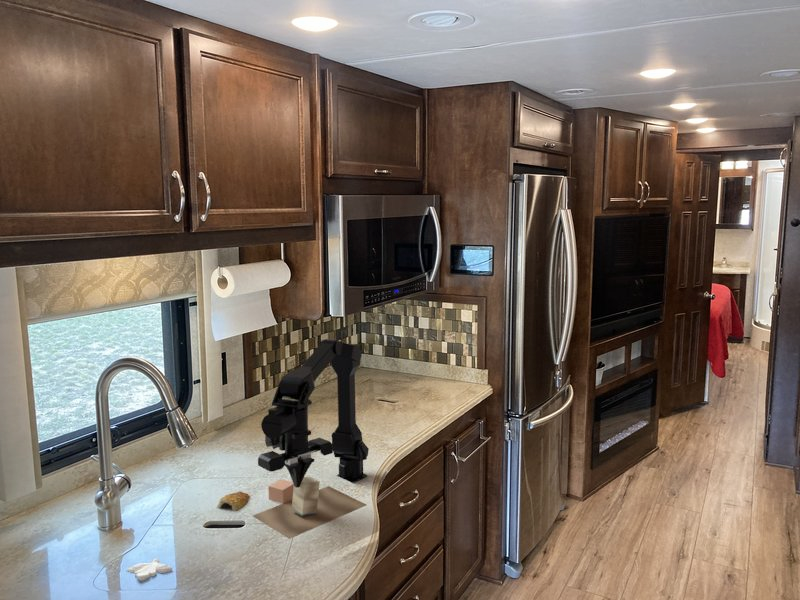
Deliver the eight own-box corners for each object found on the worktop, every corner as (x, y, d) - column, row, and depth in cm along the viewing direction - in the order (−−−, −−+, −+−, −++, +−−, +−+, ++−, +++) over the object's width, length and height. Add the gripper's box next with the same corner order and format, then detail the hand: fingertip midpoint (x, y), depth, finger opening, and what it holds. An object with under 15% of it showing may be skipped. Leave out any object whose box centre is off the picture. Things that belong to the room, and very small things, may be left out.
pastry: (233, 497, 174) (233, 484, 173) (256, 500, 172) (255, 487, 171) (214, 513, 165) (213, 499, 164) (238, 516, 163) (237, 502, 162)
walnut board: (328, 490, 177) (328, 486, 177) (367, 509, 166) (366, 504, 165) (252, 520, 160) (252, 515, 160) (289, 543, 149) (289, 538, 149)
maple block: (306, 506, 165) (308, 476, 164) (316, 512, 161) (319, 481, 161) (291, 510, 161) (294, 478, 161) (302, 516, 158) (305, 484, 158)
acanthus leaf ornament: (172, 573, 139) (172, 565, 138) (141, 587, 134) (141, 578, 133) (156, 559, 144) (156, 552, 143) (126, 572, 139) (125, 564, 139)
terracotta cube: (281, 496, 174) (281, 479, 173) (296, 500, 171) (295, 482, 170) (269, 503, 169) (268, 485, 169) (283, 508, 167) (282, 490, 166)
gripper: (307, 411, 169) (308, 468, 171) (245, 426, 157) (246, 487, 159) (334, 421, 162) (334, 480, 163) (270, 437, 149) (271, 502, 151)
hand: (296, 487), depth 159 cm, fingers closed
